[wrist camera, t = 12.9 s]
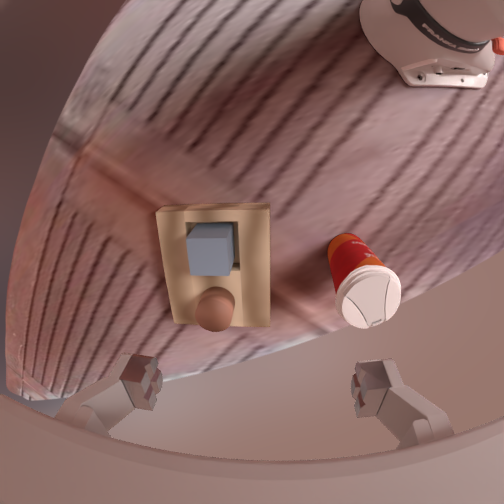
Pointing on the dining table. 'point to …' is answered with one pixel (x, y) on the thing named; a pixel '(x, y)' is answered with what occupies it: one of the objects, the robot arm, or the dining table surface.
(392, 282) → the paper cup
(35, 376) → the dining table surface
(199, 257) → the slate block
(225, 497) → the robot arm
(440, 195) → the dining table surface
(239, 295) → the assembly board
